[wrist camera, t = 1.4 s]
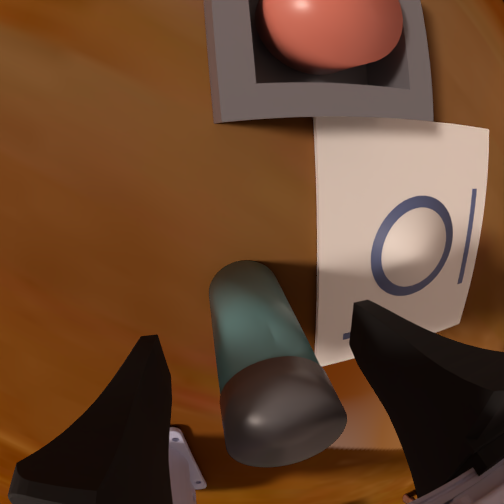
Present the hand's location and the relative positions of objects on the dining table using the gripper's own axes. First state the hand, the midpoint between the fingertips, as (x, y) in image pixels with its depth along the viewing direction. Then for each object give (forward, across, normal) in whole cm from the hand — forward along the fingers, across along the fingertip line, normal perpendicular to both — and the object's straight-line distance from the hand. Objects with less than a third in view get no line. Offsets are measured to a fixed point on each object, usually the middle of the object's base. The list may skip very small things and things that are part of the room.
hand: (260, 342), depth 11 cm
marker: (+4, 0, 0) cm, 4 cm away
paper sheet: (+4, -9, -1) cm, 10 cm away
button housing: (+4, -3, -11) cm, 12 cm away
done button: (+2, -3, -11) cm, 11 cm away
